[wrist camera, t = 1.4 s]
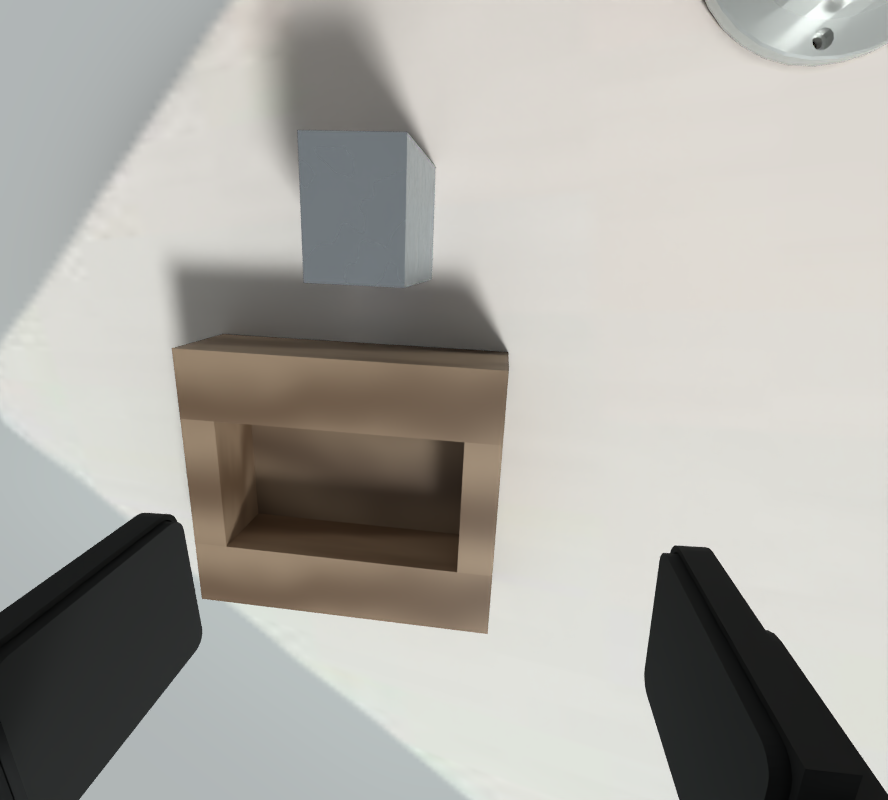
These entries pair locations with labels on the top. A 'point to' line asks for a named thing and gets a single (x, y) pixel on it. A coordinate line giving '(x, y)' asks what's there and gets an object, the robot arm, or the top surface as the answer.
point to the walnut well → (344, 475)
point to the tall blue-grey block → (365, 208)
